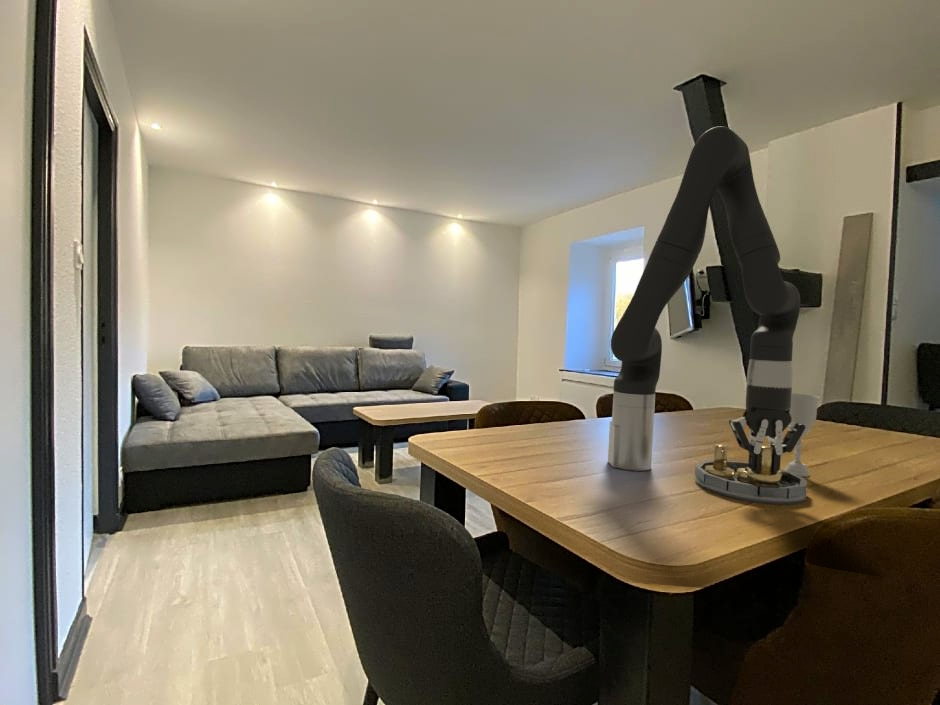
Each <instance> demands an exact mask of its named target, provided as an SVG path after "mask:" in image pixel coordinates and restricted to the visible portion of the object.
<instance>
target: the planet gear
mask: <svg viewBox="0 0 940 705" xmlns="http://www.w3.org/2000/svg"><path fill="white" fill-rule="evenodd" d="M759 454H760V455H761V462H760V473H754V472H753V471H751V469H748V470H747V479H748V480H749V481H752V482H755V483H759V484H765V485H779V484H780V479H781V475H780V474H779V473H777V474H772V458H773V448H772V447H770V446H768V445H762V446H761V451H760V453H759Z"/></svg>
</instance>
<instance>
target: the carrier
mask: <svg viewBox="0 0 940 705" xmlns="http://www.w3.org/2000/svg"><path fill="white" fill-rule="evenodd" d="M728 449H729V447H728V445H726V444H720V443H719V444H717V443H715V444H713V459H712V460H706V461H700V462H698V464H697V465H695V469H694V470H695V471H694V476H695V477H694V480H695V481H694V482H695V483H696V484H697V485H698V486H699V487H701V488H703V489H705V490H707V491H709V492H712V493H714V494H717V495H721V496H723V497H728V498H731V499H736V500H741V501H745V502H751V503H759V504H765V505H766V504H767V505H796V504H800V503H801V504H802V503H804V502H805V501H806V500H807V496H808V491H807V479H806V478H805V477H803V476H798V475H796V474H794V473H791V472H789V471H785V469H781V468H780V470H779V471H777V473H779V474H780V475H781V479H780V484H779V485H765V484H759V483H755V482H752V481H749V480H748V479H747V470H748V469H750V468H749V466H748V463H749V462H746V461H739V460H728V452H729V450H728Z"/></svg>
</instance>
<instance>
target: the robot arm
mask: <svg viewBox="0 0 940 705" xmlns="http://www.w3.org/2000/svg"><path fill="white" fill-rule="evenodd" d="M679 185H680V186H679V188H678V192H677V194H676V197H675V198H674V201H673V203H672V205H671V207H670V209H669V212H668V215H667V217H666V219H665V222H664V224H663V226H662V228H661V231H660V233H659V234H658V237H657V239H656V241H655V243H654V246H653V248H652V250H651V253H650V255H649V257H648V259H647V262H646V265H645V267H644V270H643V272H642V274H641V276H640V279H639V281H638V283H637V286H636V288H635V291H634V294H632V295H633V296H632V297H631V300H630V302H629V304H628V305H627V307H626V309H625V311H624V313H623V314H622V316H621V318H620V319H619V321H618V323H617V324H616V327H615V328H614V330H613V332H612V335H611V339H610V349H611V352H612V354H613V356H614V357H615V359H617V360H618V361H620V362H621V366H620V370H619V372H618V375H617V376H615V379H614V381H613V392H612V393H613V396H612V412H611V414H612V415H611V421H610V422H609V431H608V432H609V433H608V450H607V451H608V452H607V454H608V455H607V462H608V463H609V464H610V466H611V467H612V468H615V469H622V470H627V471H637V472H638V471H649V470H651V469H652V461H653V447H654V446H653V444H654V426H655V425H654V424H655V409H656V408H655V406H656V405H655V404H656V391H657V390H656V388H657V385H658V382H659V380H660V372H661V364H662V363H661V362H662V349H663V348H662V347H663V345H662V344H663V343H662V336H661V333H660V332H659V330H658V329H657V328H656V326H657V323H658V321H659V319H660V317H661V314H662V312H663V311H664V309H665V308H666V306H667V304H668V303H669V302H670V301H671V299H672V298H673V297H674V296H675V295H676V293H677V292H678V291H679V289H680V288H682V286H683V285H684V284H685V282H686V281H687V280H688V277H689V276H690V274H691V272H692V271H693V268H694V267H695V264H696V262H697V260H698V257H699V256H700V254H701V252H702V248H703V246H704V241H705V237H706V230H707V223H708V222H707V221H708V214H709V211H710V206H711V203H712V199H713V197H714V195H715V192H716V190H717V191H718V194H719V195H720V197H721V199H722V202H723V205H724V208H725V211H726V216H727V217H726V218H727V226H728V232H729V237H730V242H731V245H732V247H733V250H734V253H735V256H736V259H737V261H738V265H739V267H740V268H741V279H742V285H743V293H744V296H745V299H746V301H747V303H748V305H749V306H750V309H751V310H752V311H753V312H754V313H756V314H758V315H759V320H758V327H757V329H756V330H755V331H754V332H753V333H752V334H751V337H750V348H749V360H748V367H747V376H746V379H745V381H746V393H745V394H746V395H745V411H744V412H743V414H742V416H741V417H739V418H736V419H733V418H732V419H730V420H729V421H728V423H729V427H730V428H731V430H732V433H733V436H734V438H735V439H736V442H737V444H738V446H739V448H741V449H743V450H745V451H748V462H747V463H748V466H749V468H750V469H751V471H753V472H754V473H760V462H761V455H760V454H759V453H760V451H761V446H763V443H764V442H765V438H766V437H767V441H768V445H769V447H772V448H773V458H772V474H777V471H779V470H780V469H781V461H782V460H781V459H782V458H781V457H782V455H783V454H785V453H792V452H793V450H794V448H796V444H797V442H798V440H799V438H800V437H801V435H802V433H803V432H804V430H805V425H803V424H800V423H797V422H795V421H793V420H792V418H791V415H790V412H789V411H790V408H791V394H793V392H792V391H793V378H794V377H793V375H794V374H793V373H794V372H793V350H794V349H793V347H794V346H793V344H794V342H793V339H794V333H795V332H796V331H795V330H796V327H797V324H798V320H799V315H800V311H801V295H800V292H799V290H798V288H797V287H796V286H795V285H794V284H793V283H792V282H788V281H785V280H784V279H783V276H782V273H781V270H780V266H779V263H780V261H781V253H780V250H779V248H778V244H777V242H776V239H775V236H774V234H773V231H772V229H771V227H770V225H769V221H768V219H767V216H766V214H765V212H764V210H763V207H762V204H761V201H760V198H759V195H758V192H757V189H756V185H755V179H754V174H753V168H752V162H751V156H750V150H749V147H748V145H747V143H746V142H745V141H744V140H743V138H741V137H740V135H738V134H737V133H736V132H735V131H734V130H732V129H730V128H729V127H726V126H715V127H711V128H710V129H708V130H706V131H705V132H703V133H702V134H701V135H700V136H699V138H698V139H697V140H696V142H695V144H694V145H693V147H692V149H691V152H690V154H689V158H688V161H687V163H686V166H685V170H684V172H683V175H682V179H681V182H680V184H679ZM746 425H747V427H748V428H749V433H748V434H749V435H748V437H747V434H746V433H745V428H746ZM786 429H787V432H786V434H785V436H784V434H783V432H784V431H785V430H786Z"/></svg>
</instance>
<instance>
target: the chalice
mask: <svg viewBox="0 0 940 705" xmlns="http://www.w3.org/2000/svg"><path fill="white" fill-rule="evenodd" d="M820 399H821V396H818V395H813V394H812V395H811V394H805V393H804V394H802V393H801V394H800V393H792V394H791V408H790V411H789V412H790V415H791V418H792V420H793V421H795V422H797V423H800V424H803V425H805V430H804V432H803V433H802V435H801V437H800V438H799V440H798V442H797V444H796V445H795V450H794V451H793V453H794V456H795V457H794V460H793V461H790V462H789V463H787V466H786V467H785V469H784V470H785V471H789V472H791V473H794V474H796V475H798V476H800V477H810V476H809V475H810V473H809V470H808V468H807V464H805V463H803V462H802V461H801V455H802V454H803V452H802V447H803V443H802V438H803V437H804V436H807V435H808V433H810V431H811V429H812V428H813V426H814V424H815V423H816V419H817V416H818V415H817V413H818V412H817V411H818V402H819V400H820Z"/></svg>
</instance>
